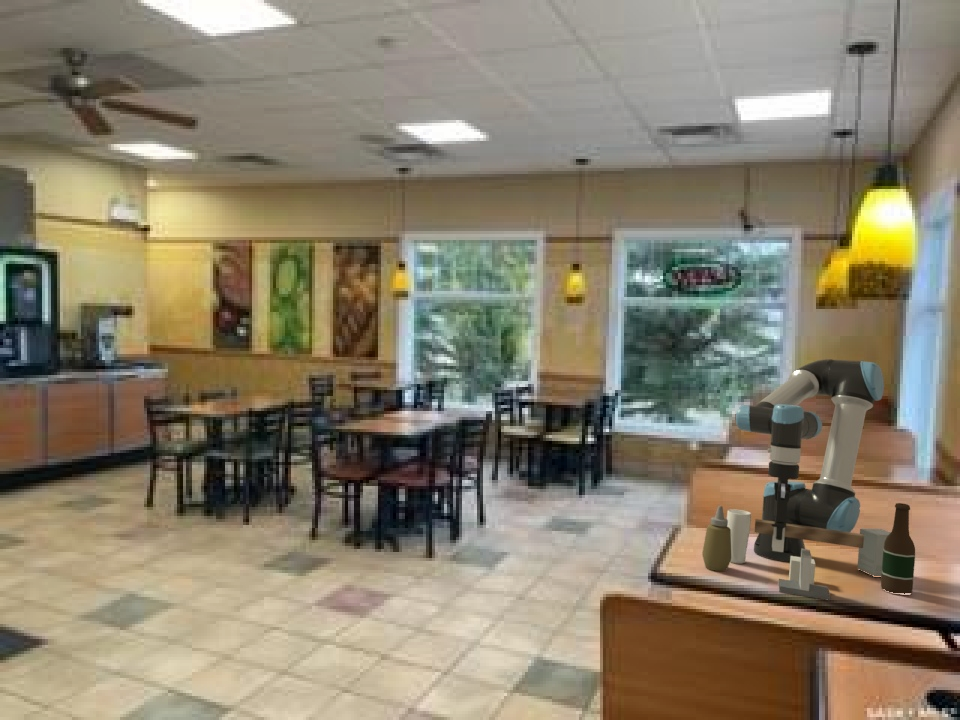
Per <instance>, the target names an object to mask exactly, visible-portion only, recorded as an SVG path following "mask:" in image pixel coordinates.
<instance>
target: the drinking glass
mask: <svg viewBox="0 0 960 720" xmlns="http://www.w3.org/2000/svg"><path fill="white" fill-rule="evenodd" d="M726 519H727V520H728V526H727V527H729V528H730V530H731V561H730V563H732V564H735V565H736V564H737V565H738V564H739V565H740V564H742V565H743V564H744V563H746V557H747V549H748V545H749V537H750V531H751V525H752V523H751V522H752V513H751V512H750V511H747V510H743V509H736V508H735V509H733V508H732V509H727V513H726Z"/></svg>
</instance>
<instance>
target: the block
mask: <svg viewBox="0 0 960 720" xmlns="http://www.w3.org/2000/svg"><path fill="white" fill-rule="evenodd" d="M800 561H801V557H796V556H790V562H789V571H788V572H789V573H788V580H790V581H796V582H799V575H800ZM815 572H816V561H815V559H814V558H811V571H810V584H815Z"/></svg>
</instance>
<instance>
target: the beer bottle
mask: <svg viewBox="0 0 960 720" xmlns="http://www.w3.org/2000/svg"><path fill="white" fill-rule="evenodd" d="M894 508H895V513H894V520H893V525H892V529H891V531H890V532H891V533H890V534H889V535H888V536H887V538H886V540H885V542H884V548H883V561H882V574H881V578H880V587H881V589H885V590H886V591H889V592H893V593H904V594H905V593H912V594H913V590H914V589H913V588H914V587H913V586H914V576H915V573H914V572H915V565H916V564H915V563H916V562H915V561H916V547H915V543H914V541H913V539H912V537H911V536H910V531H909V529H910V526H909V525H910V522H909V521H910V510H911V507H910V505H909V504H908V503H904V502H903V503H902V502H897V503H895V505H894Z"/></svg>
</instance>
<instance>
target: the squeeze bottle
mask: <svg viewBox="0 0 960 720" xmlns="http://www.w3.org/2000/svg"><path fill="white" fill-rule="evenodd" d="M706 526H707V527H706V530H705V536H704V542H703V546H702V547H703V548H702V554H701V555H702V558H703V563H704V567H705V568H707V569H709V570H711V571H714V570H715V571H714V572H725V571H727V570H728V567H729V565H730V563H731V562H730V561H731V530H730V528H729V527H727V526H728V520H727V518H725V516H724V508H723V506H722V505H718V506H717V509H716V513H715V515H714V516H713V517H711V518H710V524H708V525H706Z"/></svg>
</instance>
